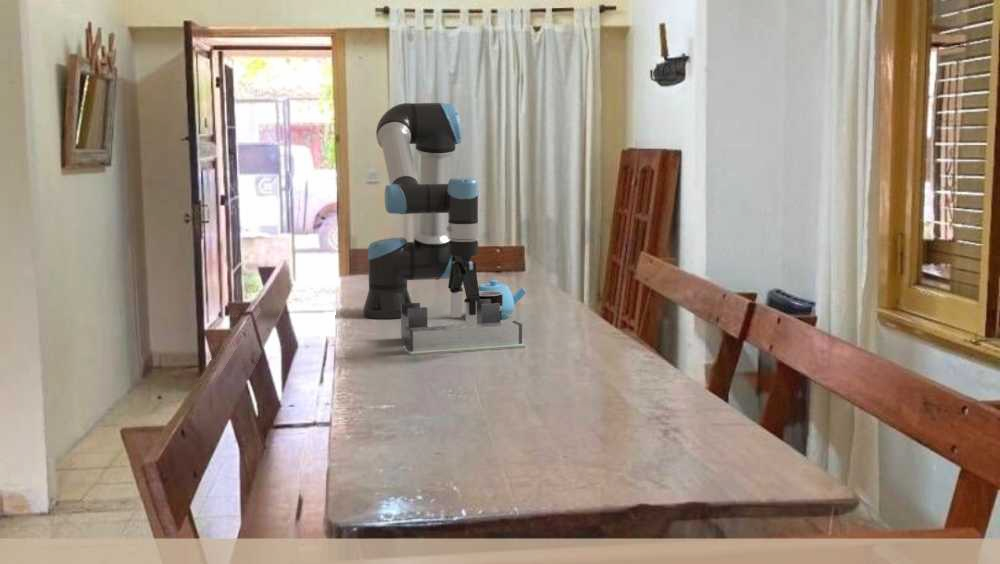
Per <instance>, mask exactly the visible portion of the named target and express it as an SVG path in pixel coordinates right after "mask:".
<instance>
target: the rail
mask: <svg viewBox="0 0 1000 564" xmlns="http://www.w3.org/2000/svg"><path fill="white" fill-rule="evenodd" d="M404 342H405V343H404V344H405V345H404V346H405V348H406V349H408V350H409V351H410V352H413V351H426V350H440V349H454V348H469V347H483V346H497V345H511V344H523V323H521V322H519V321H518V320H512V321H500V322H499V323H483V324H477V327H471V328H466V324H455V325H439V326H437V325H436V326H427V327H420V328H408V327H406V328H405V341H404Z"/></svg>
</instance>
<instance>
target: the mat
mask: <svg viewBox="0 0 1000 564" xmlns="http://www.w3.org/2000/svg"><path fill="white" fill-rule="evenodd" d="M520 348H522V349H524V348H526V345H525V344H524V343H522V344H511V345H497V346H483V347H469V348H454V349H440V350H426V351H413V352H410V351H409V350H408V349H406V348H405V345H403V346H402V349H403V350H404V351H405V352H406V353H408V355H410V356H411V357H412V356H425V355H426V356H427V355H438V354H439V355H440V354H451V353H463V352H465V353H466V352H479V351H480V352H481V351H493V350H507V349H508V350H509V349H520Z"/></svg>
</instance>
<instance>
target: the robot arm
mask: <svg viewBox="0 0 1000 564" xmlns="http://www.w3.org/2000/svg"><path fill="white" fill-rule="evenodd" d="M375 135H376V141H377V144H378V146H379V147H380V148H381V149H382V152H383V157H384V162H385V167H386V172H387V177H388V180H389V181H388V183H389V184H388V185H386V186H385V189H384V207H385V210H386V212H387V213H388V214H393V215H395V214H396V215H397V214H398V215H407V214H409V215H412V214H413V215H414V214H419V222H418V223H419V224H418V227H419V229H418V231H417V232H416V233H415V234H414V235H413V241H408V240H407V238H406V237H404V236H403V237H400V236H399V237H390V238H383V239H379V240H376V241H372V242H371V243H370V244H369V245H368V253H367V260H368V292H367V295H366V299H365V303H364V304H363V305H364V306H363V316H364V317H365V318H369V319H377V320H379V319H380V320H381V319H382V320H386V319H388V320H389V319H391V320H392V319H401V304H407V303H413V302H412V299H411V296H410V294H409V290H408V281H418V280H419V281H421V280H422V281H423V280H425V281H426V280H430V281H431V280H437V281H438V280H439V281H440V280H444V279H448V283H447V284H448V285H447V287H448V289H449V291H450V317H451V319H452V318H453V319H454V318H462V317H463V312H462V311H463V309H462V307H463V303H462V300H463V299H462V297H463V294H462V292H463V289H464V294H465V297H466V298H465V299H464V301H463V302H464V303H465V325H466V328H471V327H477V301H478V300H480V295H479V283H478V274H477V263H476V261H472V257H475V256H478V254H479V241H478V240H477V239H479V208H478V207H479V193H480V192H479V188H478V187H479V185H478V180H477V179H476V178H471V177H454V178H453V177H452V178H451V179H450V164H451V163H450V160H451V155H452V154H453V153H455V152H456V145H460V144H461V143H462V135H463V133H462V124H461V118H460V114H459V111H458V108H457V107H456V106H455V105H454V104H453V103H445V102H444V103H442V102H425V103H424V102H423V103H421V102H413V103H412V102H411V103H410V102H405V103H398V104H396V105H394V106H392V107H391V108H389V109H388V110H387V111H386V112H385V113H384V114H383V115H382V116H381V118H380V119H379V121H378V124H377V126H376V133H375ZM411 145H415V150H416V151H417V152H418V153H419V154H420V174H419V175H420V177H419V178H418V174H417V170H416V164H415V162H414V157H413V153H412V148H411ZM419 179H420V180H419ZM419 182H420V183H419ZM462 283H463V284H464V285H463V284H462ZM462 286H463V287H462Z"/></svg>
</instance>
